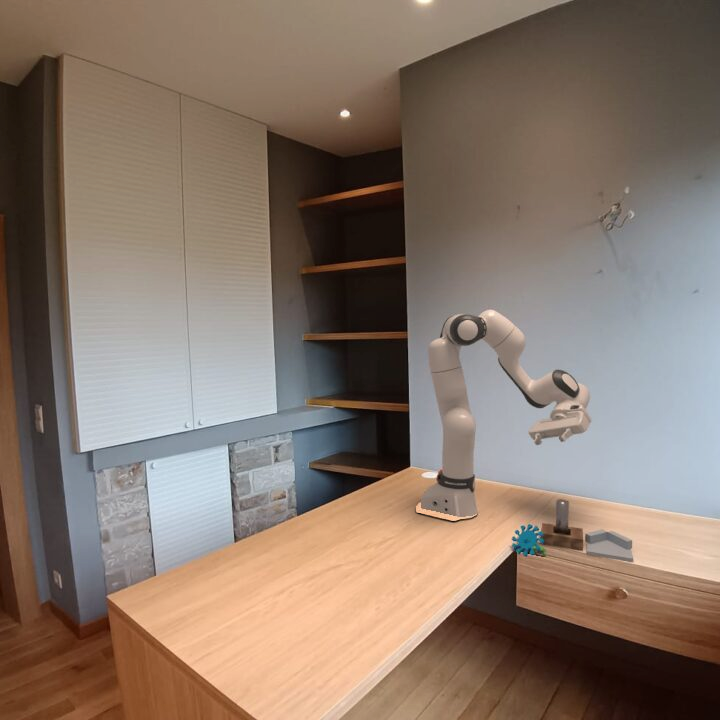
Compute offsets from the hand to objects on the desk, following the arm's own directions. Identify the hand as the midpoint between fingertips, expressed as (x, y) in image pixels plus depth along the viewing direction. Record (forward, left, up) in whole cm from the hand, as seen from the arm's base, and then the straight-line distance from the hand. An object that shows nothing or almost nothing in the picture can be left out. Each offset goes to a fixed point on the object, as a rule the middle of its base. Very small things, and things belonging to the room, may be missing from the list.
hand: (549, 441), depth 157 cm
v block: (+17, -9, -29) cm, 35 cm away
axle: (+4, -9, -30) cm, 31 cm away
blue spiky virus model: (-4, -19, -30) cm, 36 cm away
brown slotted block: (+4, -9, -29) cm, 31 cm away
